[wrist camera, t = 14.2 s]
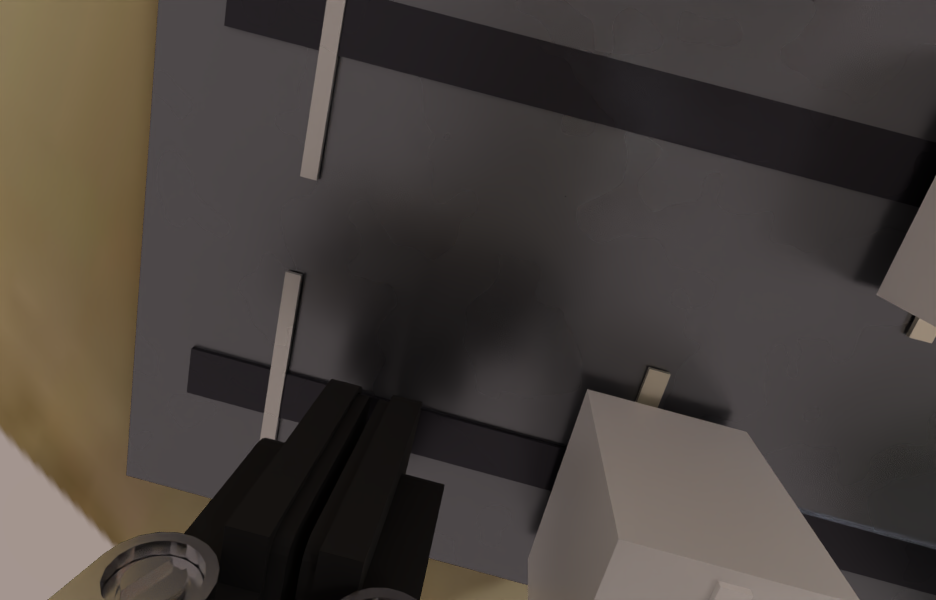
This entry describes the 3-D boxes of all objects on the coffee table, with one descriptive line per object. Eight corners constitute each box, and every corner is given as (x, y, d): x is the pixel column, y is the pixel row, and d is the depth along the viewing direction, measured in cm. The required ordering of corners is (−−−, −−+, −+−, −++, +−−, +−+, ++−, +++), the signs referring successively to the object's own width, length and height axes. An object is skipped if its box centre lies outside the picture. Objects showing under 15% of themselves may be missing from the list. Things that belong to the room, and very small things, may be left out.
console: (237, -183, 11) (169, -251, 9) (1331, 97, 10) (1525, 95, 8) (177, 428, 15) (121, 479, 13) (958, 641, 15) (1029, 727, 13)
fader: (587, 389, 11) (619, 544, 7) (747, 432, 11) (868, 612, 7) (527, 559, 12) (527, 769, 8) (670, 597, 12) (736, 827, 8)
